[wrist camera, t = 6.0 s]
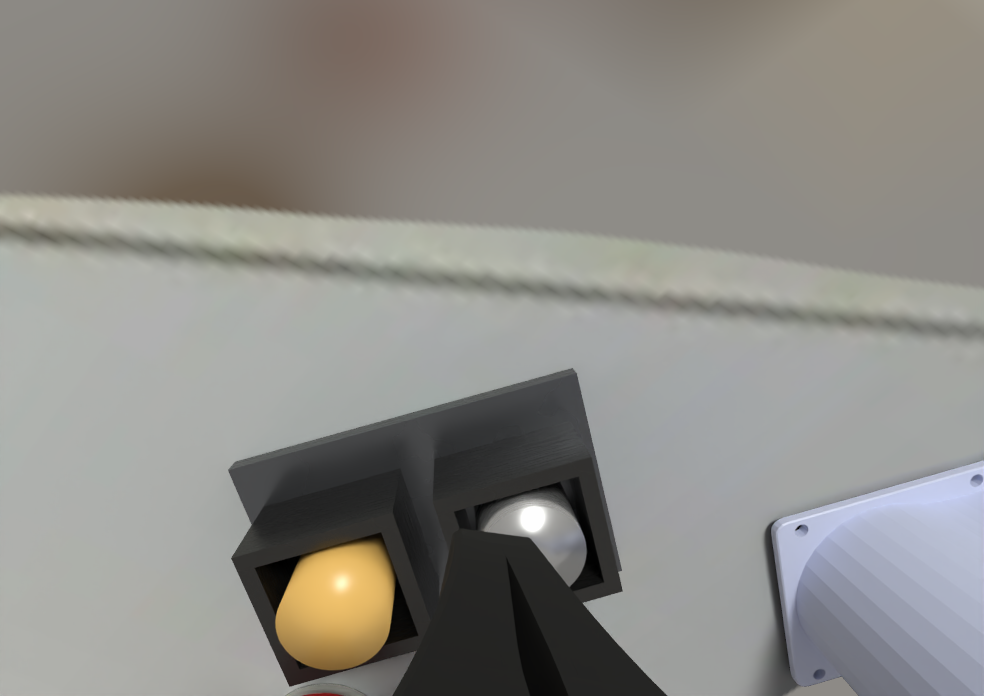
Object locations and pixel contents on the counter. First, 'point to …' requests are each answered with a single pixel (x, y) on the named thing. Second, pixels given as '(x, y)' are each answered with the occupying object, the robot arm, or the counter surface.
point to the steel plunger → (539, 526)
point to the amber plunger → (338, 604)
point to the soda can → (325, 691)
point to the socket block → (419, 498)
